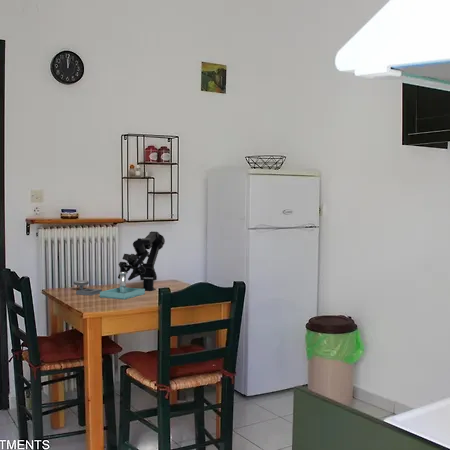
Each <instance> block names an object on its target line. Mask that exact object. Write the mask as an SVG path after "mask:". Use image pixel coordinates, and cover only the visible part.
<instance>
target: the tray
mask: <svg viewBox="0 0 450 450" xmlns="http://www.w3.org/2000/svg"><path fill="white" fill-rule="evenodd" d="M145 294H146V291H145V289H143V288H139V287H138V288H136V287H127V286H126V293H120V286H119V287H115V288H110V289H107V290H102V291H101V292H100V294H99V298H101V299H102V298H103V299H104V298H105V299H115V300H127V299H128V300H129V299H132V298H135V297H139V296H144V295H145Z"/></svg>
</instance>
